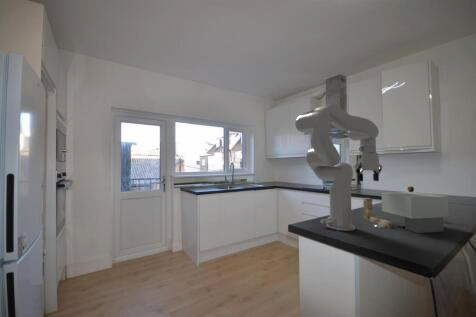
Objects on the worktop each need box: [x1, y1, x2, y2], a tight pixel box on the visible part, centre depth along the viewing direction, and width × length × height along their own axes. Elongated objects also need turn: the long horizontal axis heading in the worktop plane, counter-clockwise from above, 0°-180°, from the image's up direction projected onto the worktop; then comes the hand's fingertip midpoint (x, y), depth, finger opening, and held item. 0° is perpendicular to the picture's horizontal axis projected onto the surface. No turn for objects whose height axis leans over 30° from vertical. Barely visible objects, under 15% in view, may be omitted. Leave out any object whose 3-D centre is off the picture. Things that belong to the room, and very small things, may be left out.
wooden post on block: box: [362, 197, 394, 229], centre depth 111 cm, size 16×3×12 cm, turn 9°
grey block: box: [381, 191, 449, 234], centre depth 105 cm, size 20×17×16 cm
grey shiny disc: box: [372, 223, 387, 229], centre depth 105 cm, size 5×5×1 cm
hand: (368, 180), depth 117 cm, fingers open, 9 cm apart
